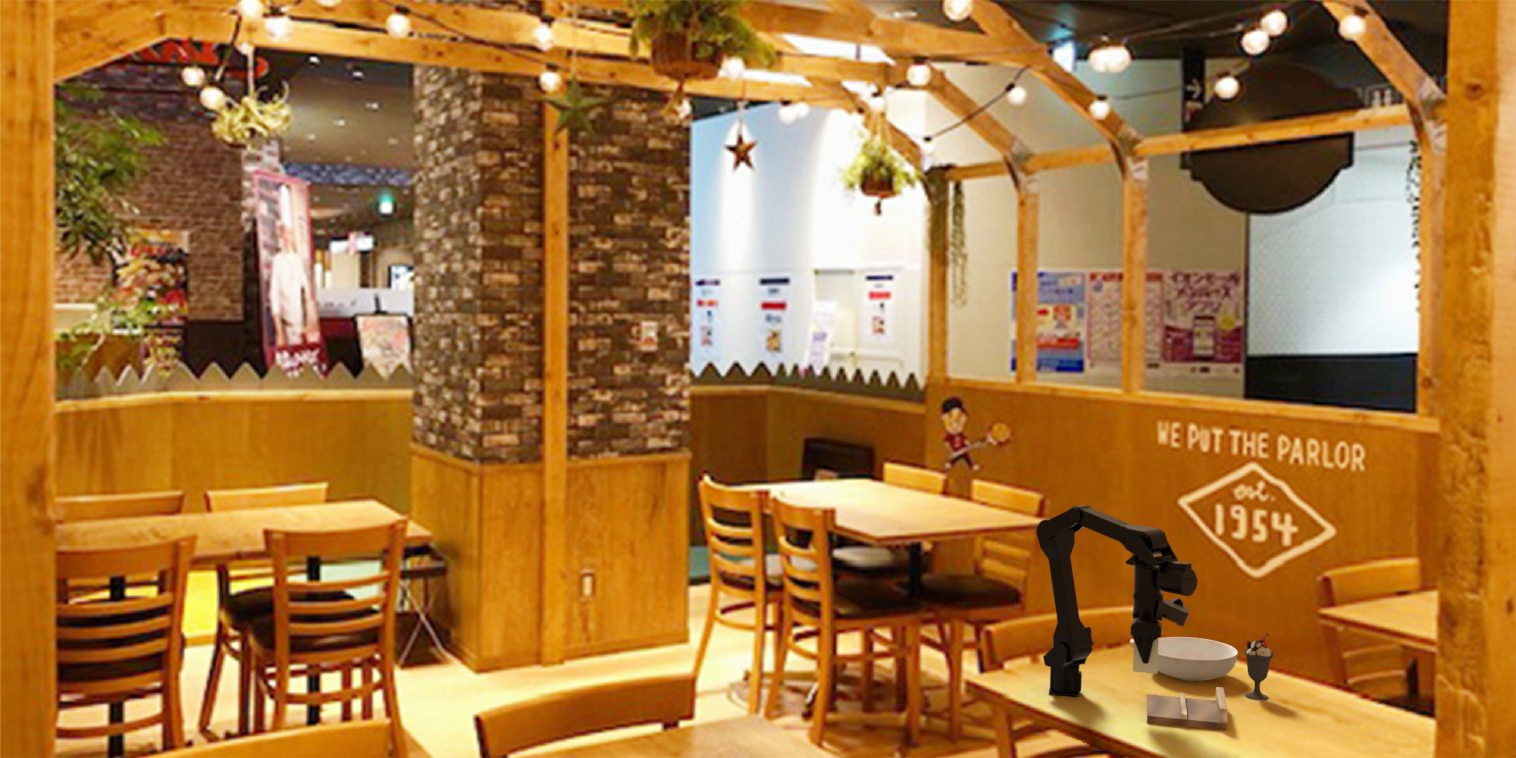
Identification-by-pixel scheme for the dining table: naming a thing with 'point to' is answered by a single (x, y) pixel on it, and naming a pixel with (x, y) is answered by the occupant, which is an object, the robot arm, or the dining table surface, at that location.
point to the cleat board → (1188, 711)
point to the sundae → (1258, 665)
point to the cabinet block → (1153, 660)
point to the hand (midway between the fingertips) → (1145, 660)
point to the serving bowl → (1195, 658)
